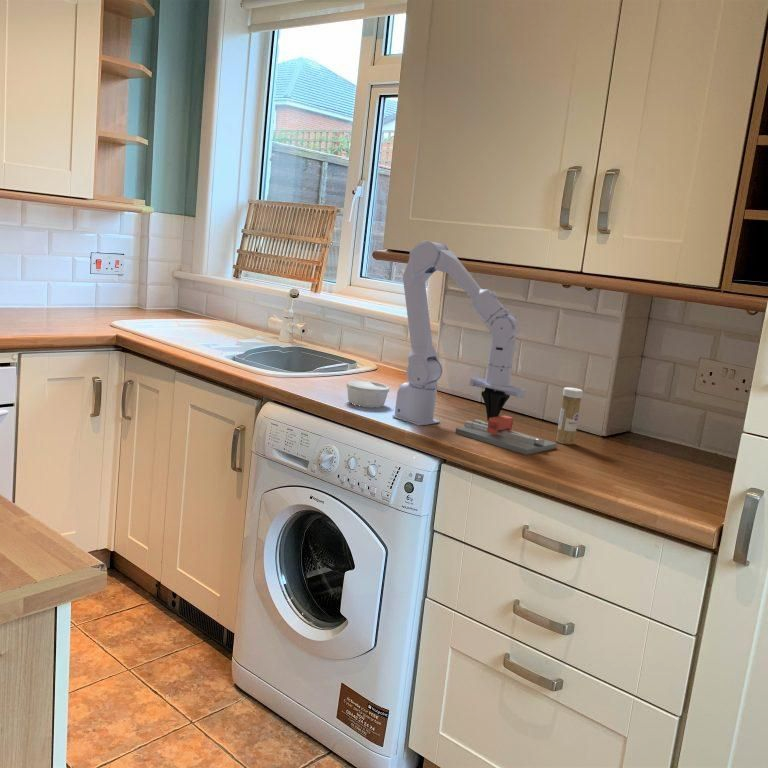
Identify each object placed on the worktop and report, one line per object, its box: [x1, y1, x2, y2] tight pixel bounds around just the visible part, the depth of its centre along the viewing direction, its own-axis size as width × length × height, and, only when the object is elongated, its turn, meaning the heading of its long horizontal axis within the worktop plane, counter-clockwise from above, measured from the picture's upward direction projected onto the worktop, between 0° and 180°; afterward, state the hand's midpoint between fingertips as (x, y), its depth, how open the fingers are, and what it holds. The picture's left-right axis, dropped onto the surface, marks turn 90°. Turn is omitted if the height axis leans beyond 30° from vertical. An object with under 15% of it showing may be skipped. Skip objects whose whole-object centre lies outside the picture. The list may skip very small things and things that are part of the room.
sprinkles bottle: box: [555, 386, 584, 445], centre depth 195 cm, size 5×5×14 cm
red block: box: [487, 415, 514, 435], centre depth 192 cm, size 2×7×4 cm, turn 138°
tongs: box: [463, 419, 545, 447], centre depth 191 cm, size 21×5×1 cm, turn 48°
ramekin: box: [346, 380, 390, 408], centre depth 214 cm, size 11×11×5 cm
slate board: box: [455, 426, 558, 456], centre depth 191 cm, size 20×13×1 cm, turn 48°
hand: (491, 421), depth 194 cm, fingers closed
